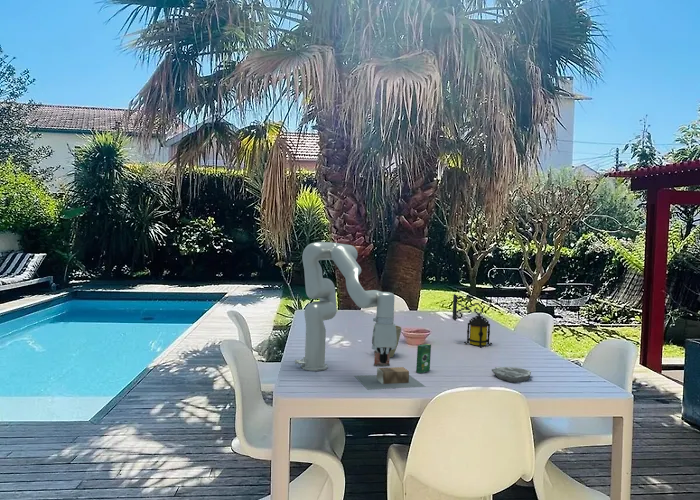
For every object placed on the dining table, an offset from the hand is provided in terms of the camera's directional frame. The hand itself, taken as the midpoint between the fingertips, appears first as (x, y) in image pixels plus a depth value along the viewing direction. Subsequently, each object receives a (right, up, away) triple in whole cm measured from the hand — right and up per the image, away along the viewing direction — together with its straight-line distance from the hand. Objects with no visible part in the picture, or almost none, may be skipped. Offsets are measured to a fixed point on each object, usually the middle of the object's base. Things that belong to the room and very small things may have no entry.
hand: (383, 362), depth 224 cm
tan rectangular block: (-2, -6, 0) cm, 6 cm away
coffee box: (+21, -9, +22) cm, 31 cm away
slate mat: (+3, -9, +1) cm, 10 cm away
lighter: (+1, -8, +31) cm, 32 cm away
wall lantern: (+60, -9, +88) cm, 107 cm away
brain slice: (+61, -11, +18) cm, 65 cm away
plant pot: (+5, -8, +51) cm, 52 cm away
